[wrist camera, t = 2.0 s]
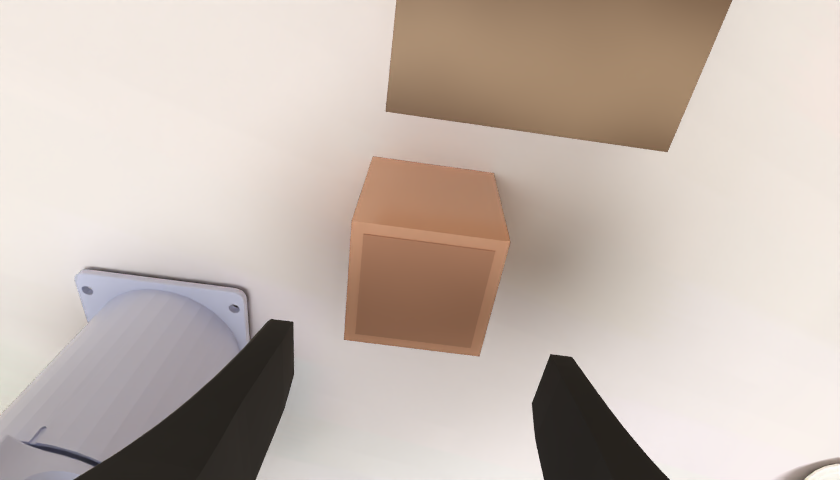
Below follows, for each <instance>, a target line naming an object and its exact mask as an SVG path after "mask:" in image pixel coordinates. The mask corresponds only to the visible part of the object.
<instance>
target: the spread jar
mask: <svg viewBox="0 0 840 480" xmlns="http://www.w3.org/2000/svg"><path fill="white" fill-rule="evenodd" d="M805 480H840V463H839V464H833V465H828V466H825V467H822V468H820V469H818V470H815V471H814V472H813V473H811V474H810V475H809V476H807V477H806V478H805Z"/></svg>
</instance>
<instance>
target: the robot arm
mask: <svg viewBox="0 0 840 480" xmlns="http://www.w3.org/2000/svg"><path fill="white" fill-rule="evenodd" d="M75 282H76V286H77V289H78V292H79V295H80V299H81V302H82V305H83V308H84V312H85V315H86V318H87V321H88V324H87V325H86V326H85V327H84V328H83V329H82V330H81V331H80V332H79V333H78V334H77V335H76V336H75V337H74V338H73V339H72V340H71V342H70V343H69V344H68V345H67V346H66V347H65V348H64V349H63V350H62V351H61V352H60V353H59V354H58V355H57V356H56V357H55V358H54V359H53V360H52V361H51V362H50V364H49V365H48V366H47V367H46V368H45V369H44V370H43V371H42V372H41V373H40V374H39V375H38V376H37V377H36V378H35V379H34V380H33V381H32V382H31V383H30V384H29V386H28V387H27V388H26V389H25V390H24V391H23V392H22V393H21V394H20V395H19V396H18V397H17V398H16V399H15V400H14V401H13V402H12V403H11V404H10V405H9V407H8V408H7V409H6V410H5V411H4V412H3V413H2V414H1V415H0V480H256V477H257V475H258V472H259V470H260V467H261V465H262V463H263V460H264V458H265V455H266V453H267V450H268V448H269V445H270V443H271V441H272V438H273V436H274V433H275V431H276V428H277V426H278V423H279V421H280V418H281V416H282V413H283V411H284V408H285V404H286V401H287V397H288V394H289V390H290V387H291V383H292V379H293V376H294V340H293V322H290V321H282V320H274V319H271V320H269V321H268V322H267V323H266V324H265V325H264V326H263V327H262V328H261V329H260V331H259V332H258V333H257V334H256V335H255V336H254V337H253V338H252V339H251V340H250V337H249V324H248V311H247V298H246V294H245V293H244V292H243V291H242V290H240V289H237V288H231V287H223V286H215V285H207V284H199V283H191V282H183V281H175V280H167V279H159V278H151V277H143V276H136V275H128V274H120V273H112V272H104V271H96V270H88V269H84V270H81V271H80V272H79V273H77V274H76V276H75ZM89 287H90V288H91V289H90V288H89ZM233 305H237V306H238V307H239V308H236V307H234V306H233ZM532 410H533V422H534V431H535V440H536V445H537V449H538V454H539V459H540V463H541V468H542V472H543V477H544V480H670V479H669V478H668V477H667V476H666V475H665V474H664V473H663V472H662V471H661V470H660V469H659V468H658V467H657V466H656V465H655V464H654V462H653V461H652V460H651V459H650V458H649V457H648V456H647V455H646V453H645V452H644V451H643V450H642V449H641V447H640V446H639V445H638V444H637V443H636V442H635V440H634V439H633V438H632V437H631V436H630V434H629V433H628V432H627V431H626V429H625V428H624V427H623V426H622V424H621V423H620V422H619V421H618V419H617V418H616V417H615V415H614V414H613V413H612V411H611V410H610V409H609V407H608V406H607V405H606V403H605V402H604V401H603V399H602V398H601V397H600V395H599V394H598V393H597V391H596V390H595V388H594V387H593V386H592V384H591V383H590V381H589V380H588V379H587V377H586V376H585V374H584V373H583V372H582V370H581V369H580V367H579V366H578V365H577V363H576V362H575V361H574V359H573V358H572V357H568V356H560V355H552V354H550V357H549V360H548V362H547V365H546V368H545V370H544V373H543V376H542V378H541V381H540V383H539V386H538V389H537V391H536V394H535V397H534V399H533V402H532Z"/></svg>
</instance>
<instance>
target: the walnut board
mask: <svg viewBox="0 0 840 480" xmlns="http://www.w3.org/2000/svg"><path fill="white" fill-rule="evenodd" d="M731 2H732V0H396V10H395V20H394V31H393V41H392V51H391V61H390V72H389V82H388V92H387V102H386V112H393V113H400V114H406V115H413V116H420V117H427V118H434V119H441V120H448V121H455V122H462V123H469V124H476V125H483V126H490V127H497V128H504V129H511V130H518V131H525V132H532V133H538V134H545V135H552V136H559V137H566V138H573V139H580V140H587V141H594V142H601V143H608V144H615V145H622V146H629V147H636V148H643V149H650V150H657V151H664V152H668V150H669V147H670V145H671V143H672V140H673V138H674V136H675V133H676V131H677V129H678V126H679V124H680V121H681V119H682V117H683V114H684V112H685V110H686V107H687V105H688V103H689V100H690V98H691V96H692V93H693V91H694V89H695V86H696V84H697V82H698V79H699V77H700V75H701V72H702V70H703V68H704V65H705V63H706V61H707V58H708V56H709V54H710V51H711V49H712V47H713V44H714V42H715V40H716V37H717V35H718V32H719V30H720V28H721V25H722V23H723V21H724V18H725V16H726V14H727V11H728V9H729V7H730V4H731Z"/></svg>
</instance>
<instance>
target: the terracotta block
mask: <svg viewBox="0 0 840 480" xmlns="http://www.w3.org/2000/svg"><path fill="white" fill-rule="evenodd" d="M509 245H510V238H509V234H508V230H507V226H506V222H505V218H504V213H503V209H502V205H501V201H500V197H499V193H498V189H497V185H496V181H495V177H494V173H489V172H482V171H475V170H468V169H460V168H453V167H446V166H439V165H431V164H424V163H417V162H410V161H402V160H395V159H388V158H381V157H373V158H372V161H371V164H370V167H369V170H368V173H367V176H366V179H365V182H364V185H363V188H362V191H361V194H360V197H359V200H358V203H357V206H356V209H355V212H354V215H353V218H352V224H351V239H350V255H349V270H348V286H347V301H346V316H345V332H344V340H350V341H358V342H366V343H374V344H382V345H390V346H399V347H407V348H415V349H423V350H431V351H439V352H447V353H455V354H464V355H472V356H480V352H481V348H482V345H483V341H484V337H485V334H486V330H487V326H488V323H489V319H490V315H491V312H492V308H493V304H494V300H495V297H496V293H497V289H498V286H499V282H500V278H501V275H502V271H503V267H504V264H505V260H506V256H507V253H508V249H509Z"/></svg>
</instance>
